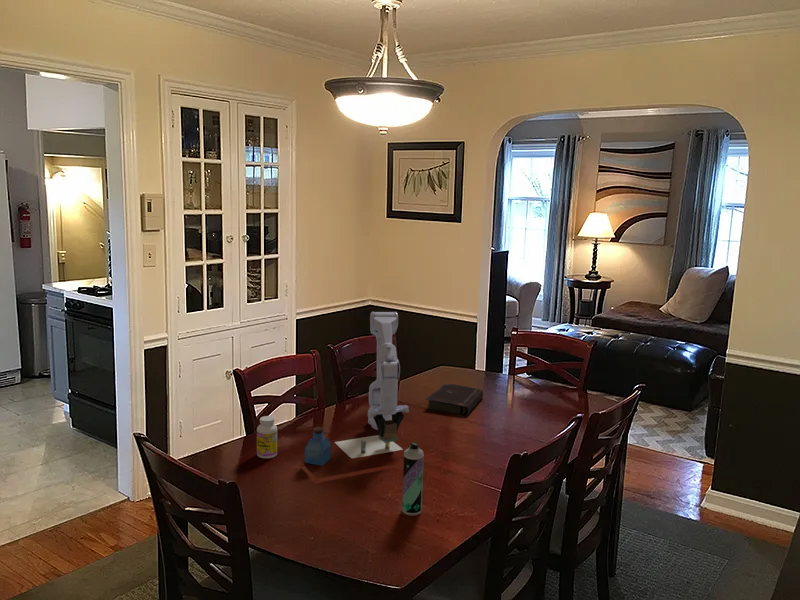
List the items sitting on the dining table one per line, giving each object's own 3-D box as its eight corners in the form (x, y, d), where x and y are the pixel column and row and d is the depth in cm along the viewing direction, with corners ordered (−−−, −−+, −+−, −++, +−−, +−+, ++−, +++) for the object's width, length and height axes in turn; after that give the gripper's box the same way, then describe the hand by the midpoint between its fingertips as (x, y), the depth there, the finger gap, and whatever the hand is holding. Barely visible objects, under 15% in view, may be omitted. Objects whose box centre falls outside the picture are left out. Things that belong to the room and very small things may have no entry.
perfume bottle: (330, 461, 221) (331, 426, 219) (322, 469, 215) (322, 433, 213) (313, 458, 223) (313, 424, 221) (304, 466, 217) (305, 430, 215)
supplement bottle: (252, 457, 222) (252, 419, 220) (264, 449, 229) (263, 413, 226) (270, 460, 220) (270, 423, 218) (281, 453, 226) (281, 416, 224)
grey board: (334, 445, 234) (334, 442, 234) (383, 437, 243) (383, 434, 243) (351, 461, 221) (351, 458, 221) (403, 452, 230) (403, 449, 229)
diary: (483, 399, 290) (484, 388, 289) (467, 418, 267) (468, 406, 266) (441, 393, 297) (442, 382, 296) (423, 410, 274) (423, 398, 273)
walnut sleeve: (378, 437, 230) (378, 421, 229) (390, 435, 233) (391, 419, 232) (384, 442, 226) (385, 425, 225) (397, 440, 228) (397, 423, 227)
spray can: (401, 506, 192) (403, 439, 189) (420, 506, 193) (422, 439, 189) (402, 515, 187) (405, 447, 183) (422, 515, 187) (425, 447, 184)
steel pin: (360, 451, 226) (360, 440, 226) (364, 451, 227) (364, 439, 226) (361, 453, 225) (362, 442, 224) (366, 452, 226) (366, 441, 225)
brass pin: (384, 447, 230) (384, 436, 230) (388, 447, 231) (388, 436, 230) (386, 449, 229) (386, 438, 228) (390, 448, 230) (390, 437, 229)
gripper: (374, 402, 220) (373, 442, 222) (413, 397, 227) (412, 435, 229) (365, 396, 226) (364, 434, 228) (403, 391, 233) (402, 428, 235)
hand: (387, 434), depth 229 cm, fingers closed on walnut sleeve, 4 cm apart
